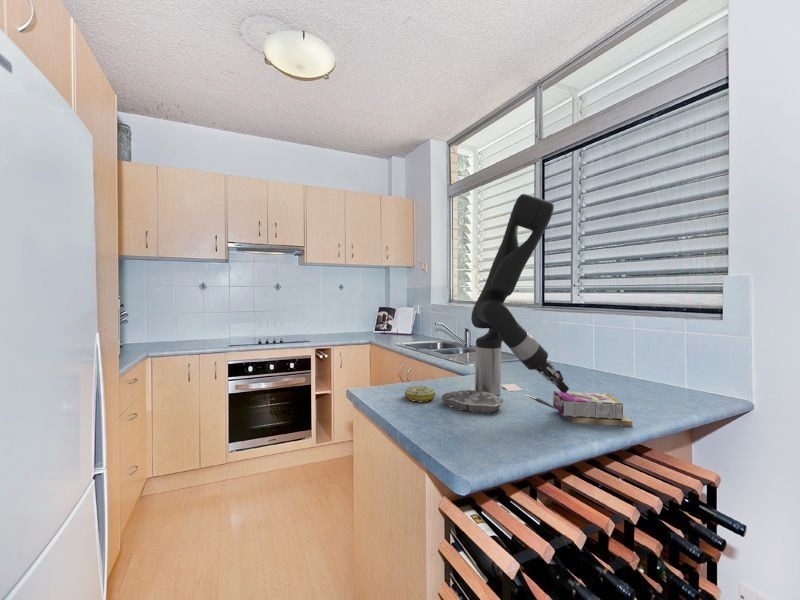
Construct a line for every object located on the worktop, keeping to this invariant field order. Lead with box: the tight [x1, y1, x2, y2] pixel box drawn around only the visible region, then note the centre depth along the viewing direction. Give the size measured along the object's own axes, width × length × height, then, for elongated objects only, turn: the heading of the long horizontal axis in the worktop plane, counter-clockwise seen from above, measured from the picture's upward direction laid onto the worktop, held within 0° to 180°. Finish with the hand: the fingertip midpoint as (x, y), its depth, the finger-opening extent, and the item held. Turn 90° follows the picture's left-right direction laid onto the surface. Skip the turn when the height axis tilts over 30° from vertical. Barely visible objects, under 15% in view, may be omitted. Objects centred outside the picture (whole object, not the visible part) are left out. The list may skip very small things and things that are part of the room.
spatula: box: [501, 383, 558, 411], centre depth 133 cm, size 6×29×2 cm, turn 17°
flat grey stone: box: [441, 389, 504, 414], centre depth 122 cm, size 20×17×3 cm
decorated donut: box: [404, 385, 436, 401], centre depth 129 cm, size 10×11×4 cm
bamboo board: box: [566, 414, 634, 427], centre depth 114 cm, size 16×16×2 cm
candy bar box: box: [552, 390, 624, 420], centre depth 112 cm, size 11×5×16 cm
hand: (565, 390), depth 113 cm, fingers closed
